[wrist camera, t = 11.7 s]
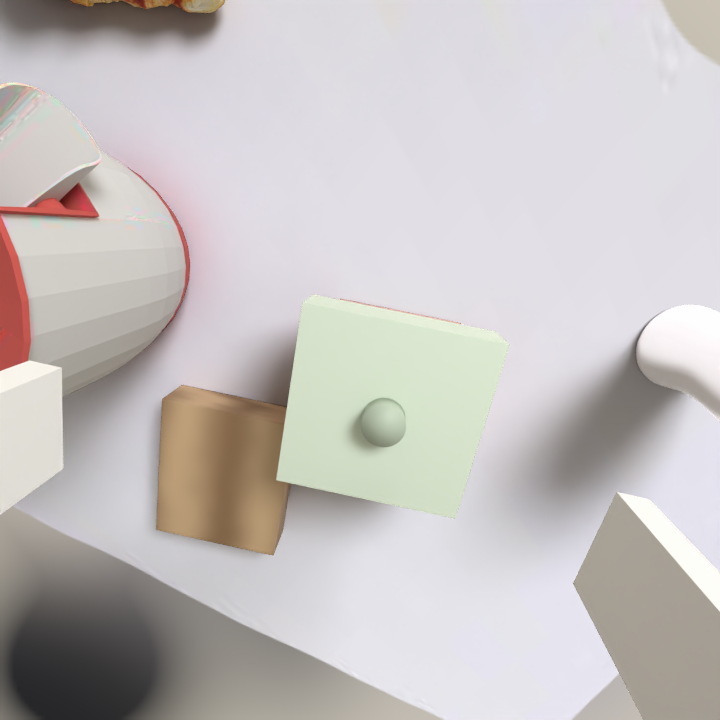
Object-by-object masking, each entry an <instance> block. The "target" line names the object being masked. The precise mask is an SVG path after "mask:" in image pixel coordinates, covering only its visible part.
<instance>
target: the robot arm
mask: <svg viewBox="0 0 720 720" xmlns="http://www.w3.org/2000/svg"><path fill="white" fill-rule="evenodd" d="M62 469H63V412H62V368H61V367H57V366H52V365H48V364H43V363H39V362H34V361H30V360H29V361H27V362H24V363H21V364H18V365H16V366H13V367H10V368H7V369H5V370H2V371H0V515H1V514H2V513H3V512H5V511H6V510H7V509H9V508H10V507H12V506H13V505H14V504H16V503H17V502H18V501H20V500H21V499H23V498H24V497H25V496H27V495H28V494H29V493H31V492H32V491H34V490H35V489H36V488H38V487H39V486H40V485H42V484H43V483H45V482H46V481H47V480H49V479H50V478H51V477H53V476H54V475H55V474H57V473H58V472H60V471H61V470H62ZM573 584H574V586H575V588H576V590H577V592H578V594H579V596H580V598H581V600H582V602H583V604H584V606H585V608H586V609H587V611H588V613H589V615H590V617H591V619H592V621H593V623H594V625H595V627H596V629H597V631H598V633H599V635H600V637H601V639H602V641H603V643H604V644H605V646H606V648H607V650H608V652H609V654H610V656H611V658H612V660H613V662H614V664H615V666H616V668H617V670H618V672H619V674H620V676H621V677H622V679H623V681H624V683H625V685H626V687H627V689H628V691H629V693H630V695H631V697H632V699H633V701H634V703H635V705H636V707H637V709H638V710H639V712H640V714H641V716H642V718H643V720H720V572H719V571H718V570H717V569H716V568H715V567H714V566H713V565H712V564H711V563H710V562H709V561H708V560H707V559H706V558H705V557H704V556H703V555H702V554H701V553H700V552H699V551H698V550H697V548H696V547H695V546H694V545H693V544H692V543H691V542H690V541H689V540H688V539H687V538H686V537H685V536H684V535H683V534H682V533H681V532H680V531H679V530H678V529H677V528H676V527H675V526H674V524H673V523H672V522H671V521H670V520H669V519H668V518H667V517H666V516H665V515H664V514H663V513H662V512H661V511H660V510H659V509H658V508H657V507H656V506H655V505H654V504H653V503H652V502H651V500H650V499H646V498H641V497H637V496H633V495H628V494H624V493H619V492H616V494H615V497H614V499H613V501H612V503H611V505H610V507H609V509H608V511H607V513H606V516H605V518H604V520H603V522H602V524H601V526H600V528H599V530H598V532H597V534H596V537H595V539H594V541H593V543H592V545H591V547H590V549H589V551H588V553H587V555H586V558H585V560H584V562H583V564H582V566H581V568H580V570H579V572H578V574H577V576H576V579H575V581H574V583H573Z"/></svg>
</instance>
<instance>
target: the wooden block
mask: <svg viewBox="0 0 720 720" xmlns="http://www.w3.org/2000/svg"><path fill="white" fill-rule="evenodd" d="M286 410H287V407H285V406H280V405H275V404H270V403H266V402H261V401H256V400H251V399H247V398H242V397H237V396H232V395H228V394H223V393H218V392H213V391H209V390H204V389H199V388H194V387H190V386H185V385H181V386H180V387H179V388H177V389H176V390H174V391H173V392H171V393H170V394H169V395H167V396H166V397H164V398H163V399H162V417H161V439H160V460H159V482H158V503H157V525H156V530H160V531H164V532H169V533H173V534H178V535H182V536H187V537H192V538H196V539H201V540H205V541H210V542H214V543H219V544H223V545H228V546H232V547H237V548H242V549H246V550H251V551H255V552H260V553H264V554H269V555H274V552H275V550H276V547H277V545H278V542H279V539H280V537H281V534H282V532H283V527H284V520H285V514H286V508H287V502H288V495H289V489H290V483H287V482H282V481H278V480H276V478H277V471H278V465H279V458H280V451H281V444H282V437H283V431H284V424H285V417H286Z"/></svg>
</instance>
